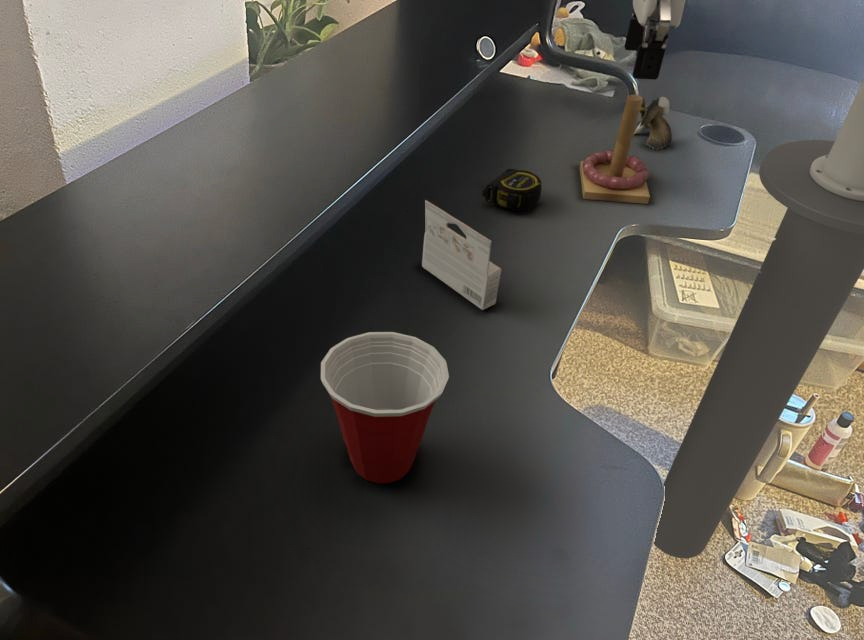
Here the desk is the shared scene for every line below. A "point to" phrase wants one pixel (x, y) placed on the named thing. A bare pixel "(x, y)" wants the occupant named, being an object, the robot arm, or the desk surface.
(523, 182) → the tape measure
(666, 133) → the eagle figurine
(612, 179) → the ring
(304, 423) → the desk surface
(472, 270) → the ink cartridge box
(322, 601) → the desk surface
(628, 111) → the stand
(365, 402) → the plastic cup
